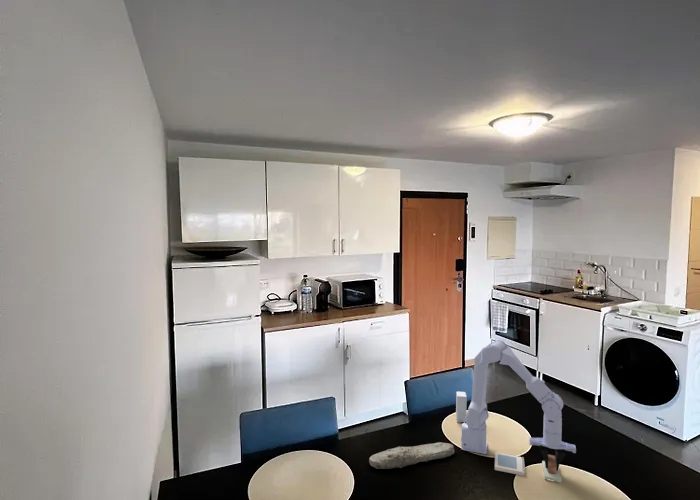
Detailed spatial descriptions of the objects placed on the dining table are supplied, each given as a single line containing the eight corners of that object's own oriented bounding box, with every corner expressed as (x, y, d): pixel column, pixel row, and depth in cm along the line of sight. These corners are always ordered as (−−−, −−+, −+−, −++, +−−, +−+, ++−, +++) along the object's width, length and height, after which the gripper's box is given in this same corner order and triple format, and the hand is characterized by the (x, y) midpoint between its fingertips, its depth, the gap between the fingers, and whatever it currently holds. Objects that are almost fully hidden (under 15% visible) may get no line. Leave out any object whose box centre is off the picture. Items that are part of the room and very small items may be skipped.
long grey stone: (460, 461, 149) (446, 449, 159) (460, 447, 150) (446, 436, 159) (374, 474, 138) (364, 460, 148) (375, 459, 139) (365, 446, 148)
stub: (544, 479, 136) (545, 465, 136) (542, 463, 145) (542, 450, 145) (561, 483, 134) (561, 468, 134) (557, 466, 143) (557, 452, 143)
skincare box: (466, 423, 176) (466, 397, 176) (456, 422, 177) (457, 396, 177) (465, 417, 182) (465, 391, 182) (455, 416, 183) (456, 391, 183)
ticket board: (494, 469, 142) (494, 466, 142) (495, 455, 151) (495, 451, 151) (525, 475, 138) (525, 472, 138) (523, 460, 147) (523, 457, 147)
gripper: (573, 428, 140) (573, 465, 141) (529, 421, 145) (528, 457, 146) (577, 438, 133) (576, 477, 134) (530, 430, 139) (529, 468, 139)
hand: (551, 467), depth 139 cm, fingers closed on stub, 2 cm apart
